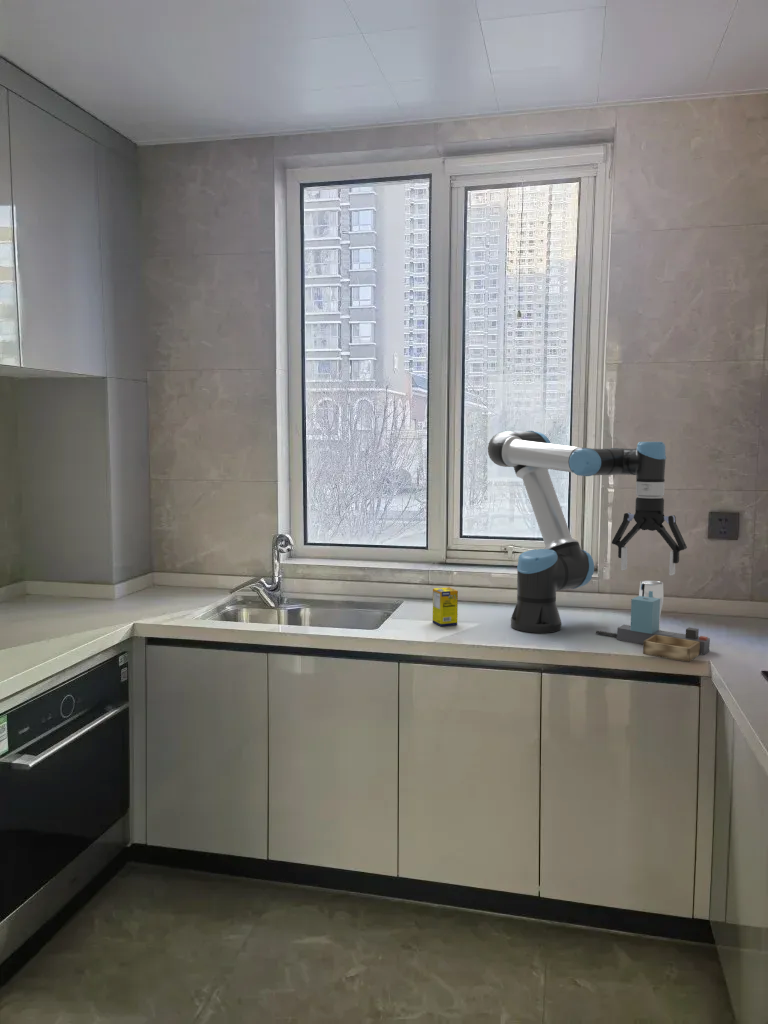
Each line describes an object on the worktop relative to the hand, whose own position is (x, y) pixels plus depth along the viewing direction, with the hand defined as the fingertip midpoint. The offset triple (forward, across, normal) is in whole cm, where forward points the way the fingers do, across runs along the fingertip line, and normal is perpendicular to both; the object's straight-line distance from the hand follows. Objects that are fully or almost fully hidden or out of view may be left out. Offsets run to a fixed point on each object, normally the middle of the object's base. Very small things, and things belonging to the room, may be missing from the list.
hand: (647, 572), depth 215 cm
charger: (+19, 0, 0) cm, 19 cm away
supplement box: (+20, -56, -18) cm, 62 cm away
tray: (+20, +10, -7) cm, 24 cm away
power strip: (+20, +1, 0) cm, 20 cm away
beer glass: (+20, -3, +13) cm, 24 cm away
